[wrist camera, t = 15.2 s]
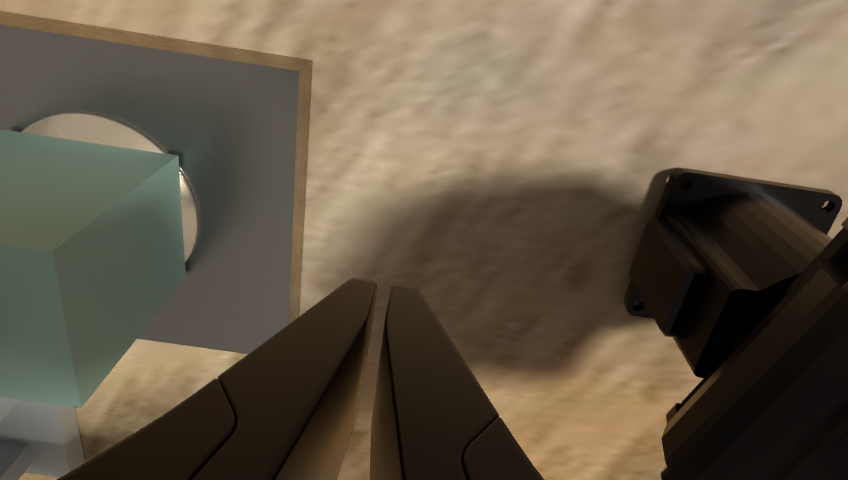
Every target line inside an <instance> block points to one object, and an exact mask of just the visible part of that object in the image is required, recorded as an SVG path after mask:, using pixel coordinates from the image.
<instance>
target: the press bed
mask: <svg viewBox="0 0 848 480" xmlns="http://www.w3.org/2000/svg"><path fill="white" fill-rule="evenodd" d="M312 61H313V60H306V59H300V58H294V57H287V56H281V55H275V54H268V53H262V52H256V51H249V50H243V49H237V48H230V47H224V46H217V45H211V44H205V43H198V42H192V41H186V40H179V39H173V38H167V37H160V36H154V35H148V34H141V33H135V32H129V31H122V30H116V29H110V28H103V27H97V26H91V25H84V24H78V23H71V22H65V21H59V20H52V19H46V18H40V17H33V16H27V15H21V14H14V13H8V12H2V11H0V131H1V130H10V131H17V132H23V133H30V134H37V135H43V136H50V137H57V138H63V139H70V140H77V141H84V142H90V143H97V144H104V145H110V146H117V147H124V148H131V149H137V150H144V151H151V152H157V153H165V154H171V155H178V157H179V173H180V174H179V175H180V191H181V207H182V224H183V240H184V256H185V272H186V278H185V279H184V280H183V282H182V283H181V284H180V285H179V287H178V288H177V289H176V290H175V292H174V293H173V294H172V295H171V297H170V298H169V299H168V300H167V302H166V303H165V304H164V305H163V306H162V308H161V309H160V310H159V311H158V313H157V314H156V315H155V316H154V318H153V319H152V320H151V321H150V323H149V324H148V325H147V326H146V328H145V329H144V330H143V331H142V333H141V334H140V335H139V336H138V338H137V339H145V340H152V341H159V342H166V343H173V344H180V345H187V346H195V347H202V348H209V349H216V350H223V351H230V352H237V353H245V354H249V353H251V352H252V351H253V350H255V349H256V348H258V347H259V346H260V345H262V344H263V343H264V342H266V341H267V340H268V339H270V338H271V337H272V336H274V335H275V334H276V333H278V332H279V331H281V330H282V329H283V328H285V327H286V326H287V325H289V324H290V323H291V322H293V321H294V320H295V319H297V318H298V317H299V308H300V289H301V270H302V251H303V232H304V213H305V194H306V175H307V156H308V137H309V118H310V99H311V80H312Z"/></svg>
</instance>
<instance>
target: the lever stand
mask: <svg viewBox="0 0 848 480" xmlns="http://www.w3.org/2000/svg"><path fill="white" fill-rule="evenodd" d="M84 460H85V459H84V454H83V448H82V443H81V438H80V432H79V427H78V422H77V417H76V411H75V407H71V406H63V405H56V404H48V403H41V402H33V401H26V400H18V399H11V398H3V397H0V480H18V479H19V478H20V477H21V476H22V474H23V473H24V472H25V473H32V474H40V475H47V476H55V477H62V476H64V475H65V474H67V473H69V472H70V471H72V470H74V469H76V468H77V467H79V466H81V464H82V463H83V461H84Z"/></svg>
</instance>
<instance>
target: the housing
mask: <svg viewBox="0 0 848 480" xmlns="http://www.w3.org/2000/svg"><path fill="white" fill-rule="evenodd" d="M179 174H180V173H179V157H178V155H171V154H165V153H157V152H151V151H144V150H137V149H131V148H124V147H117V146H110V145H104V144H97V143H90V142H84V141H77V140H70V139H63V138H57V137H50V136H43V135H37V134H30V133H23V132H17V131H10V130H1V131H0V397H3V398H11V399H18V400H26V401H33V402H41V403H48V404H56V405H63V406H71V407H78V408H81V407H82V406H83V405H84V404H85V402H86V401H87V400H88V399H89V397H90V396H91V395H92V394H93V392H94V391H95V390H96V389H97V387H98V386H99V385H100V384H101V382H102V381H103V380H104V379H105V377H106V376H107V375H108V374H109V372H110V371H111V370H112V369H113V367H114V366H115V365H116V364H117V362H118V361H119V360H120V359H121V358H122V356H123V355H124V354H125V353H126V351H127V350H128V349H129V348H130V346H131V345H132V344H133V343H134V341H135V340H136V339H137V338H138V336H139V335H140V334H141V333H142V331H143V330H144V329H145V328H146V326H147V325H148V324H149V323H150V321H151V320H152V319H153V318H154V316H155V315H156V314H157V313H158V311H159V310H160V309H161V308H162V306H163V305H164V304H165V303H166V302H167V300H168V299H169V298H170V297H171V295H172V294H173V293H174V292H175V290H176V289H177V288H178V287H179V285H180V284H181V283H182V282H183V280H184V279H185V278H186V272H185V256H184V240H183V224H182V207H181V191H180V175H179Z"/></svg>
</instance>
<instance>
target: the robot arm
mask: <svg viewBox="0 0 848 480" xmlns="http://www.w3.org/2000/svg"><path fill="white" fill-rule="evenodd" d="M687 178H689V182H688V183H687V185H685V186H684V187H679V183H680V182H681V180H683V179H687ZM826 201H829V202H828V204H827V206H826V207H824V208H821V205H822V204H823V203H824V202H826ZM841 206H842V199H841V198H840V197H839V196H838V195H836V194H835V193H833V192H831V191H828V190H822V189H815V188H809V187H802V186H796V185H789V184H783V183H777V182H770V181H764V180H757V179H751V178H744V177H738V176H731V175H725V174H718V173H712V172H705V171H699V170H692V169H679V170H677V171H675V172H674V173H673V174H672V175H671V176H670V178H669V180H668V183H667V186H666V188H665V191H664V194H663V196H662V199H661V202H660V204H659V207H658V210H657V212H656V215H655V217H654V218H652V219H651V220H650V221H648V223H647V226H646V228H645V231H644V234H643V236H642V239H641V242H640V245H639V247H638V250H637V253H636V256H635V258H634V261H633V264H632V266H631V269H630V272H629V275H630V277H631V278H632V280H631V282H630V285H629V288H628V290H627V293H626V296H625V298H624V305H625V307H626V309H627V311H628V313H630V314H631V315H634V316H639V317H646V318H653V319H654V320H655V321H656V323H657V325H658V327H659V329H660V330H661V332H662V333H663V335H665V336H667V337H673V338H674V340H675V342H676V343H677V345H678V347H679V349H680V350H681V352H682V354H683V355H684V357H685V359H686V361H687V362H688V364H689V366H690V367H691V369H692V371H693V373H694V374H695V376H697V377H700V378H704V379H703V380H702V381H701V382H700V383H699V384H698V385H697V386H696V387H695V388H694V390H693V391H692V392H691V393H690V394H689V395H688V396H687V397H686V398H685V399H684V400H683V401H682V403H681V404H679V403H676V404H675V405H674V406H673V407H672V409H671V410H670V411H669V412H668V413H667V415H666V419H667V425H666V428H665V430H664V433H663V436H662V444H663V450H664V456H665V462H666V465H667V467H666V468H665V469H664V470H663V471H662V472H661V478H662V480H848V217H847V218H846V220H845V221H844V222H843V223H842V224H841V225H842V226H843V227H844V228H843V229H842V230H841V231H840V232H839V233H838V234H837V235H836V236H835V237H834V238H833V239H831V238H830V237H828V236H827V233H828V232H829V230H830V228H831V226H832V224H833V222H834V220H835V219H836V217H837V215H838V213H839V211H840V209H841ZM376 291H377V284H376V283H375V282H374V281H371V280H364V279H357V278H352V279H350V280H348V281H347V282H346V283H344V284H343V285H342V286H340V287H339V288H338V289H336V290H335V291H333V292H332V293H331V294H329V295H328V296H327V297H325V298H324V299H323V300H321V301H320V302H319V303H317V304H316V305H314V306H313V307H312V308H310V309H309V310H308V311H306V312H305V313H304V314H302V315H301V316H300V317H298V318H297V319H295V320H294V321H293V322H291V323H290V324H289V325H287V326H286V327H285V328H283V329H282V330H281V331H279V332H278V333H276V334H275V335H274V336H272V337H271V338H270V339H268V340H267V341H266V342H264V343H263V344H262V345H260V346H259V347H258V348H256V349H255V350H253V351H252V352H251V353H249V354H248V355H247V356H245V357H244V358H243V359H241V360H240V361H239V362H237V363H236V364H234V365H233V366H232V367H230V368H229V369H228V370H226V371H225V372H224V373H222V374H221V375H220V376H219V377H218V379H214V380H212V381H211V382H210V383H208V384H207V385H206V386H204V387H203V388H202V389H200V390H199V391H197V392H196V393H195V394H193V395H192V396H190V397H189V398H188V399H186V400H185V401H183V402H182V403H180V404H179V405H177V406H176V407H175V408H173V409H172V410H170V411H169V412H167V413H166V414H164V415H163V416H161V417H160V418H158V419H157V420H155V421H153V422H152V423H150V424H148V425H147V426H145V427H144V428H142V429H140V430H139V431H137V432H136V433H134V434H132V435H131V436H129V437H128V438H126V439H124V440H123V441H121V442H119V443H118V444H116V445H114V446H113V447H111V448H109V449H108V450H106V451H104V452H103V453H101V454H99V455H97V456H96V457H94V458H92V459H91V460H89V461H87V462H86V463H84V464H82V465H81V466H79V467H77V468H76V469H74V470H72V471H70V472H69V473H67V474H65V475H64V476H62V477H60V478H59V479H57V480H337V477H338V473H339V470H340V467H341V464H342V461H343V458H344V455H345V451H346V448H347V445H348V442H349V439H350V436H351V432H352V429H353V425H354V422H355V418H356V414H357V409H358V404H359V399H360V393H361V388H362V382H363V376H364V371H365V365H366V359H367V354H368V348H369V342H370V337H371V330H372V323H373V315H374V307H375V299H376ZM637 301H642V302H641V303H640V304H639V305H637V306H633V304H634V303H635V302H637ZM370 480H544V479H543V477H542V476H541V475H540V474H539V472H538V471H537V470H536V468H535V467H534V466H533V465H532V463H531V462H530V460H529V459H528V457H527V456H526V454H525V453H524V452H523V450H522V449H521V447H520V446H519V444H518V443H517V441H516V440H515V439H514V437H513V436H512V434H511V432H510V431H509V429H508V428H507V426H506V425H505V423H504V422H503V420H502V419H501V418H499V414H498V413H497V411H496V409H495V408H494V406H493V405H492V403H491V402H490V400H489V399H488V397H487V395H486V394H485V392H484V391H483V389H482V388H481V386H480V385H479V383H478V381H477V380H476V378H475V377H474V375H473V374H472V372H471V370H470V369H469V367H468V366H467V364H466V363H465V361H464V360H463V358H462V356H461V355H460V353H459V352H458V350H457V349H456V347H455V346H454V344H453V342H452V341H451V339H450V338H449V336H448V335H447V333H446V332H445V330H444V328H443V327H442V325H441V324H440V322H439V321H438V319H437V318H436V316H435V314H434V313H433V311H432V310H431V308H430V307H429V305H428V304H427V302H426V300H425V299H424V297H423V296H422V294H421V293H420V291H419V290H418V288H416V287H413V286H406V285H399V284H394V285H393V286H392V287H391V290H390V296H389V301H388V307H387V312H386V318H385V325H384V332H383V339H382V347H381V354H380V361H379V369H378V376H377V383H376V391H375V398H374V405H373V413H372V423H371V452H370Z"/></svg>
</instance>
